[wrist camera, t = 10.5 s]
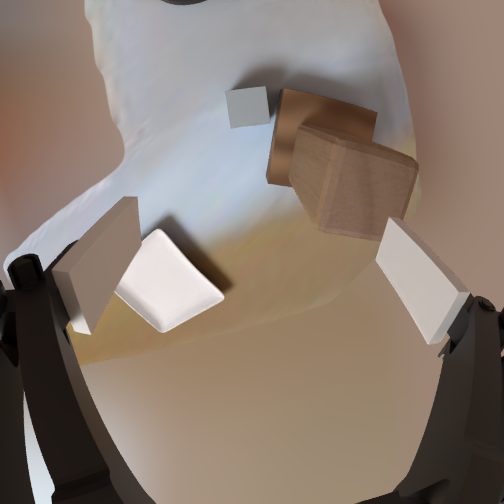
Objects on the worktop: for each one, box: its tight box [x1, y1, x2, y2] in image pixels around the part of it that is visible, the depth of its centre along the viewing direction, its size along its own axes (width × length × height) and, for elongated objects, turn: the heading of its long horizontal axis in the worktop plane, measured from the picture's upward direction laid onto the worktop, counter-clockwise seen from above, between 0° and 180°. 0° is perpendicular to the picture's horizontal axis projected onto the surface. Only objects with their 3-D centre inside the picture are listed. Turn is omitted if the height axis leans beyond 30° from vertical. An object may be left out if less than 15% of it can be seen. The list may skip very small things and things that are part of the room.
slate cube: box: [225, 86, 270, 128], centre depth 40 cm, size 6×6×6 cm
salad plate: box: [114, 228, 225, 333], centre depth 58 cm, size 21×21×3 cm
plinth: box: [266, 88, 377, 187], centre depth 43 cm, size 16×16×5 cm
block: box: [288, 123, 419, 242], centre depth 33 cm, size 10×10×20 cm
